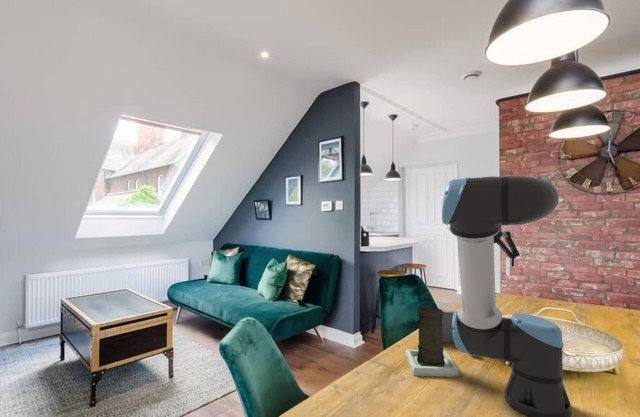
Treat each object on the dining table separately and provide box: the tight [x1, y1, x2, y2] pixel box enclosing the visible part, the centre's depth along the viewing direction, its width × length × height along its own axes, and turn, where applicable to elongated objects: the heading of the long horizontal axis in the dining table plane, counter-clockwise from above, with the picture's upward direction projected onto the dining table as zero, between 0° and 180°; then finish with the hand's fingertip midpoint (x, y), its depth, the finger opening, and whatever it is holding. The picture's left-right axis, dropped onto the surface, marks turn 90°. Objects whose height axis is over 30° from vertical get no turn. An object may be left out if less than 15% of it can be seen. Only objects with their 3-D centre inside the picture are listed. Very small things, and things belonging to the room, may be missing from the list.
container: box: [417, 306, 445, 367], centre depth 113 cm, size 9×9×18 cm
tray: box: [405, 348, 460, 378], centre depth 113 cm, size 14×14×2 cm
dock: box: [442, 310, 476, 358], centre depth 128 cm, size 15×15×12 cm
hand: (489, 275), depth 125 cm, fingers open, 13 cm apart
